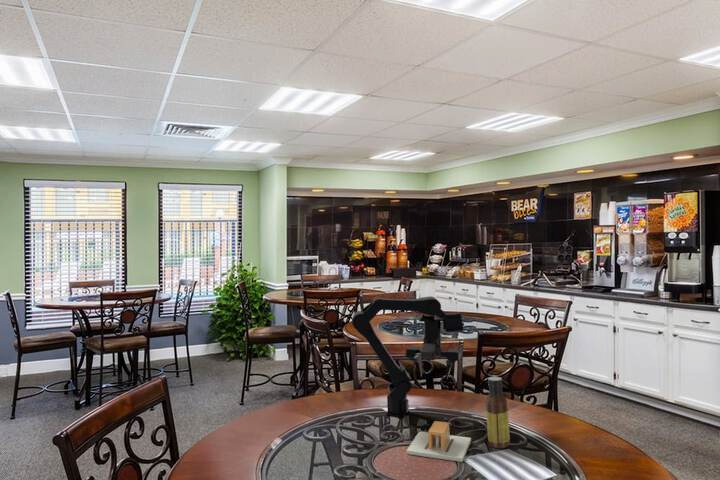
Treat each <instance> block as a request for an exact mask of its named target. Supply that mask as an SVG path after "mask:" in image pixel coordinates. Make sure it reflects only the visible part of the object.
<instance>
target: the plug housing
mask: <svg viewBox="0 0 720 480" xmlns="http://www.w3.org/2000/svg"><path fill="white" fill-rule="evenodd" d="M427 432H428V441H429V449H432V447H433V446H434V444H435V442H436V436H435V435H438V436H441V451H444V450H445V448H446V446H447V444H448V442H449V440H450V422H445V421H436V420H434V422H433V423H432V425H431V427H430V428H429V429H428V431H427Z"/></svg>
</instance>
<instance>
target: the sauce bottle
mask: <svg viewBox="0 0 720 480" xmlns="http://www.w3.org/2000/svg"><path fill="white" fill-rule="evenodd" d="M487 384H488V389H489V390H488V395H487V397H486V400H485V405H486V407H485V408H486V409H485V410H486V411H485V413H486V424H487V425H486V427H487V439H488V444H489V446H491V447H492V448H495V449H496V448H497V449H506V448H508V447H509V446H510V444H511V441H510V440H511V436H510V422H509V421H510V420H509V409H508V401H507V399H506V397H505V395H504V393H503V378H502V377H499V376H490V377H487Z"/></svg>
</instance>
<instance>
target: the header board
mask: <svg viewBox="0 0 720 480" xmlns="http://www.w3.org/2000/svg"><path fill="white" fill-rule="evenodd" d="M435 436H436V442H435V444H434V446H433V447H432V449H429V441H428V431H419V432H417V434H416V436H415V437H414V439H413V440H412V442H411V443H410V445H409V446H408V448H407V449H406V454H407V455H411V456H417V457H419V456H420V457H424V458H426V457H427V458H431V459H437V460H438V459H440V460H445V461H453V462H459V463H463V461H464V459H465V457H466V454H467V452H468V450H469V447H470V445H471V443H472V438H471V437H468V436H460V435H459V436H457V435H452V434H451V435H450V440H449V442H448V444H447V446H446V448H445V450H444V451H441V436H438V435H435Z"/></svg>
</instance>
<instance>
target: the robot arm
mask: <svg viewBox="0 0 720 480" xmlns="http://www.w3.org/2000/svg"><path fill="white" fill-rule="evenodd" d="M381 311H403V312H404V311H405V312H406V311H407V312H417V313H419V314H421V315H420V316H419V317H417V318H418V321H419V323H420V322H421V323H422V322H423V332H424V333H423V336H424V337H423V343H422V346H421V348H420V346H416V345H415V346H414V345H413V346H412V345H411V346H409V347H408V348H406V350H405V353H404V357H405V358H408V360H410V361H412V362H413V363H414V366H415V368H416V370H417V373H418V375H419V377H420V378H422V377H423V367H422V366H423V365H422V360H430V361H434V360H436V358H437V357H443V358H446V359H447V360H446V361H445V365H446V366H445V379H446V380H448V378H449V377H450V376H449V375H450V372H451V370H452V366H453V364H455V363H456V362H459V361H460V359H462V351H461V349H459V348H449V349H448V350H443V349H442V348H443V347H442V333H441V330H442V331H444V332H445V334H457V333H463V331H464V323H463V319H462V314H461V312H454V313H453V312H452V313H451V312H450V313H446V311H444V310H442V304H441V302H440V301H439V300H438V299H437V298H436V297H434V296H431V295H430V296H423V297H417V298H412V299H411V298H410V299H409V298H386V297H385V298H383V297H380V296H379V297H378V296H377V297H375V298H374V299H372V301H371V302H369V303H368V304H367V305H366V306H364V308H363V309H362V310H358V311H355V312H354V314H353V315H352V320H351V321H352V322H351V323H352V327H353V328H354V329H355V330H356V331H357V332H358V333H359V334H360V336H362V337H363V338H365V340H366V341H367V342H368V344H369V345H370V346H371V348H372V350H373V351H374V353H375V354H376V356H377V357H378V359H379V360H380V362H381V363H382V365H383V366H384V368H385V370H387V373H388V375H389V377H390V380H391V383H389V384H388V386H387V390H388V394H387V398H386V399H387V401H386V402H387V403H386V404H387V405H386V406H387V407H386V408H387V412H386V413H385V415H386V416H391V417H392V416H393V417H402V418H404V417H405V416H406V414H407V413H408V412H409V411H410V410H409V408H410V407H409V399H408V397H407V396H408V395H407V394H408V393H409V392H410V391H411V389H412V386H413V385H412V382H411V380H412V377H411V376H410V375H411V374H410V373H409V372H407V370H406V367H405V366H404V365H402V366H401V367H400V366H399V365H398V364H397V363H396V362H395V360H394V359H393V357H392V355H391V354H390V352H389V351H388V349H387V348H386V347H385V345H384V343H383V342H382V341H381V339H380V338H379V335H377V333H376V331H375V329H374V327H373V324H372V322H371V321H372V320H373V319H374V318H375V317H376V316H377V314H379V312H381ZM435 316H436V317H435Z"/></svg>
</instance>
